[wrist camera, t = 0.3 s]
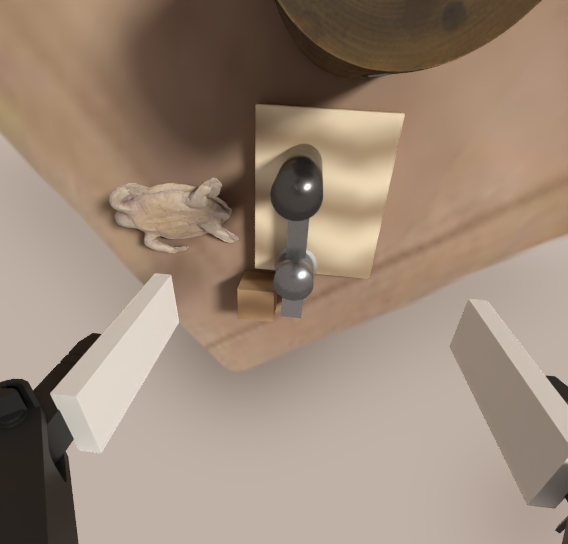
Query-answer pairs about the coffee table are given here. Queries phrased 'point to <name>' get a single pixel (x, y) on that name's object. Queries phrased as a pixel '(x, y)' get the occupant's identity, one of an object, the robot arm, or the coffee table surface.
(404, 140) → the coffee table surface
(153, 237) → the beige animal figurine
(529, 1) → the wooden container
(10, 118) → the coffee table surface
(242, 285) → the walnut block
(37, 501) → the robot arm
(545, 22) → the coffee table surface
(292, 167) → the lever
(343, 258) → the board
